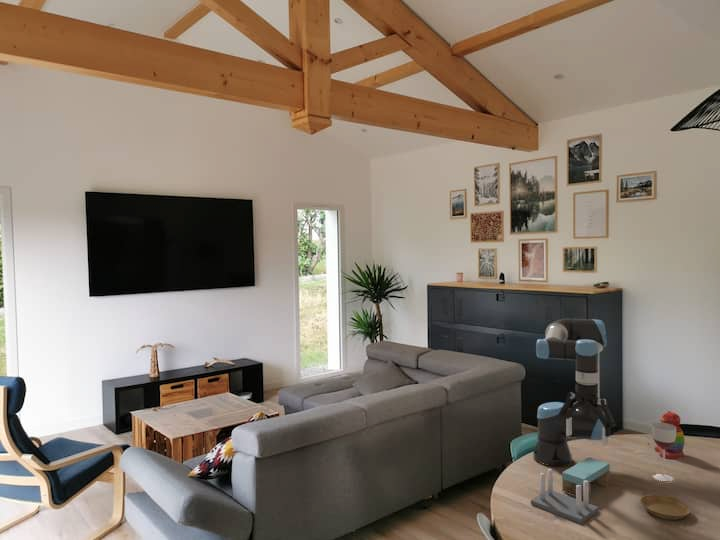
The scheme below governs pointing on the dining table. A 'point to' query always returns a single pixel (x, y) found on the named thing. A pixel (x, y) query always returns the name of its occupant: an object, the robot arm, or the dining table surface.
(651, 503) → the plant saucer
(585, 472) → the shelf board
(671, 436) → the wineglass
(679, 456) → the stacking bear
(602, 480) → the blocks
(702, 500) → the dining table surface
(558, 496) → the peg stand
